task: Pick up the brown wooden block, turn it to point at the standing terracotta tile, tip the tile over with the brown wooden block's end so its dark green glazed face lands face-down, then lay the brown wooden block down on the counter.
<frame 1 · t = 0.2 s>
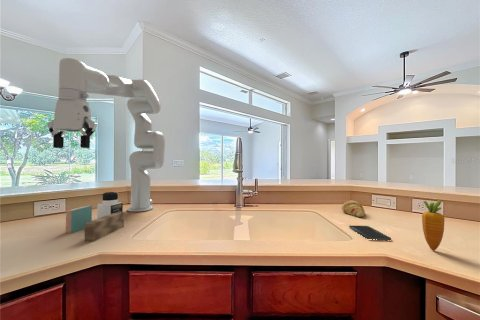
hand: (71, 147, 73), 30 cm above the worktop, fingers open, 9 cm apart
brown wooden block: (105, 234, 78), on the worktop
phone: (368, 235, 80), on the worktop
medicine bottle: (110, 219, 98), on the worktop
carrot: (433, 251, 64), on the worktop
croissant: (352, 213, 112), on the worktop
tile: (78, 229, 83), on the worktop
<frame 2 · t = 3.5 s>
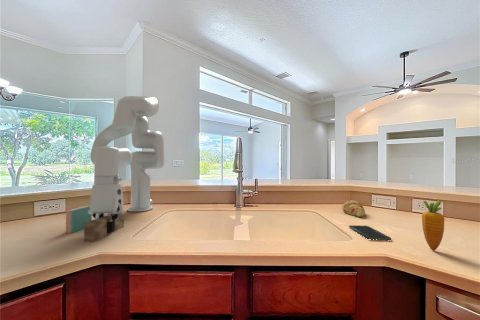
hand: (105, 231, 78), 1 cm above the worktop, fingers closed on brown wooden block, 2 cm apart
brown wooden block: (105, 233, 78), on the worktop, touching gripper
everything else where it was.
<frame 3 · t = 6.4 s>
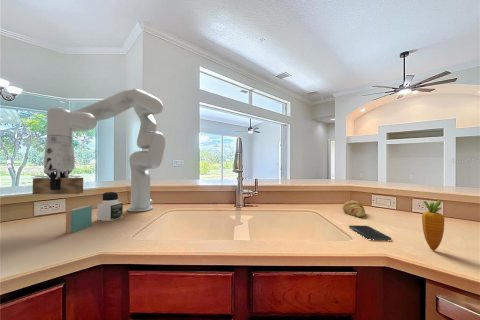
hand: (58, 188, 83), 15 cm above the worktop, fingers closed on brown wooden block, 2 cm apart
brown wooden block: (58, 193, 83), point 13 cm above the worktop, touching gripper
everything else where it was.
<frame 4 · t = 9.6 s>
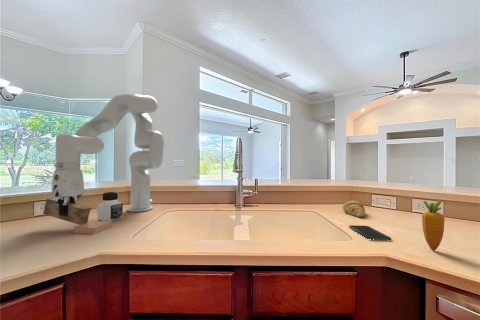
hand: (67, 213, 83), 6 cm above the worktop, fingers closed on brown wooden block, 2 cm apart
brown wooden block: (65, 218, 83), point 4 cm above the worktop, tilted 14°, touching gripper
tile: (83, 226, 83), point 1 cm above the worktop, tilted 90°
everything else where it was.
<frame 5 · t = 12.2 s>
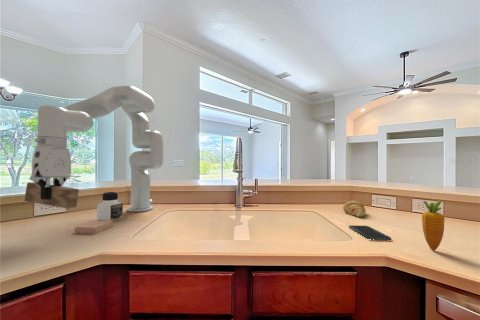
hand: (51, 197, 72), 13 cm above the worktop, fingers closed on brown wooden block, 2 cm apart
brown wooden block: (50, 203, 72), point 11 cm above the worktop, tilted 8°, touching gripper
when the fingers open (2 cm above the worktop, at t = 14.8 s): brown wooden block stays where it is, on the worktop.
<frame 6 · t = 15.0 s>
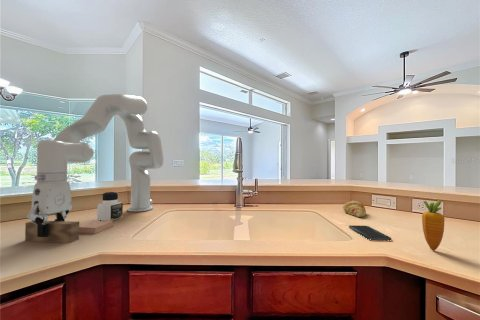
hand: (51, 233, 71), 2 cm above the worktop, fingers open, 4 cm apart
brown wooden block: (52, 240, 71), on the worktop
everything else where it was.
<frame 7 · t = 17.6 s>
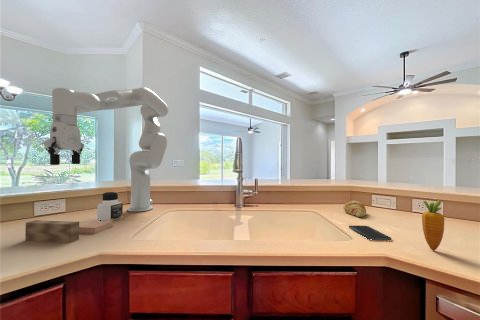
hand: (66, 164, 86), 25 cm above the worktop, fingers open, 9 cm apart
nothing on the worktop moved.
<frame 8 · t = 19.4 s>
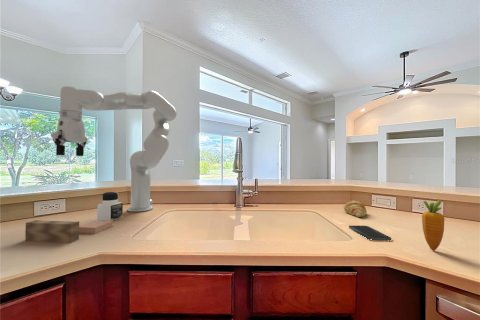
hand: (70, 155, 94), 28 cm above the worktop, fingers open, 9 cm apart
at the end: tile tilted 90°; the gripper is holding nothing; brown wooden block touching worktop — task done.
